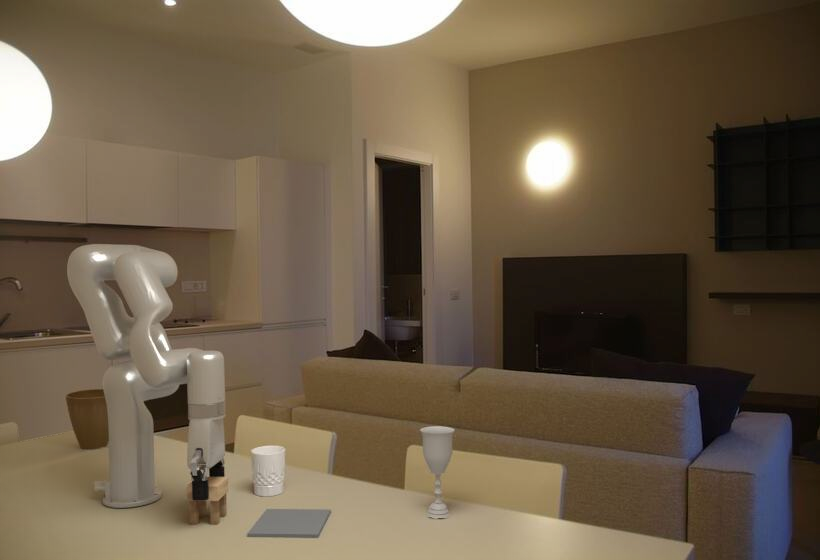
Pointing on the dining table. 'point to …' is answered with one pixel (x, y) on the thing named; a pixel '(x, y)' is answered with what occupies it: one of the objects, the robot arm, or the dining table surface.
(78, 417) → the plant pot
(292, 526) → the mat
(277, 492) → the white cup
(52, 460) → the dining table surface
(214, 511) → the stool
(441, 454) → the chalice
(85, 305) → the robot arm
